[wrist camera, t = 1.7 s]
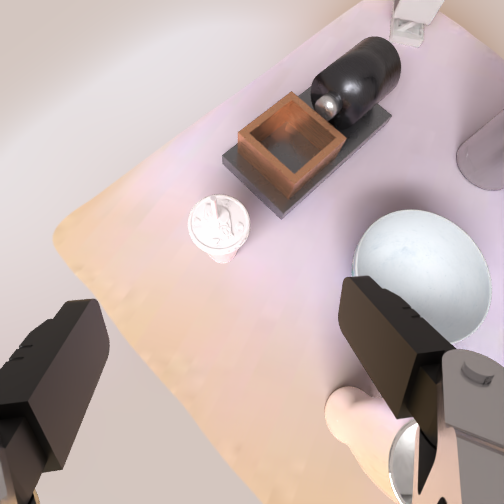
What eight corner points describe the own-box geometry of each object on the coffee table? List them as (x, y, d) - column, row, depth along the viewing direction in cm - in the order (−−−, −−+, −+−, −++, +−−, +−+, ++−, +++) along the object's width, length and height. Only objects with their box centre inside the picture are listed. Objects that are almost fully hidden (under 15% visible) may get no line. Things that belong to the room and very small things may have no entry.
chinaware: (461, 277, 39) (513, 263, 32) (408, 370, 36) (454, 378, 28) (369, 212, 41) (399, 185, 34) (310, 293, 38) (328, 282, 30)
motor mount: (329, 79, 48) (353, 15, 38) (385, 124, 46) (425, 68, 36) (222, 163, 42) (219, 112, 33) (281, 219, 40) (296, 182, 31)
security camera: (382, 16, 53) (415, -54, 44) (420, 24, 53) (461, -45, 44) (380, 41, 51) (414, -27, 42) (419, 49, 51) (461, -17, 42)
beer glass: (348, 369, 35) (427, 390, 21) (391, 416, 34) (506, 473, 20) (308, 412, 34) (364, 468, 19) (352, 463, 32) (446, 563, 18)
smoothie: (228, 218, 40) (225, 158, 26) (256, 255, 39) (268, 210, 25) (188, 244, 38) (164, 194, 25) (216, 283, 37) (207, 252, 24)
